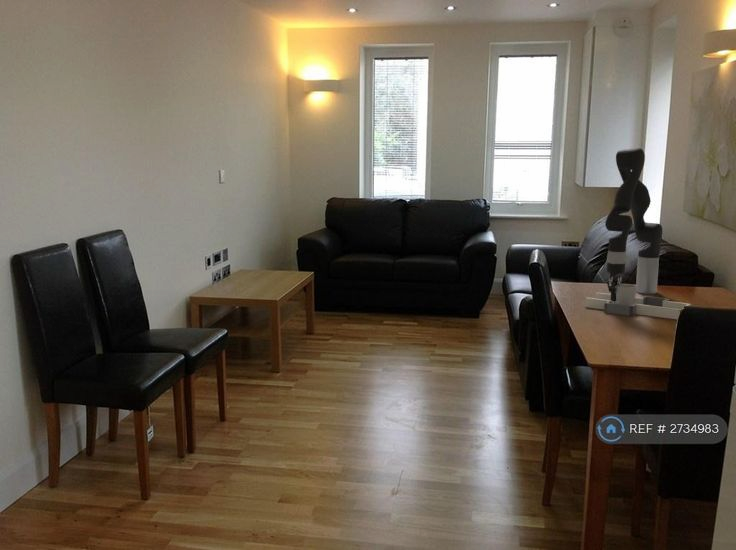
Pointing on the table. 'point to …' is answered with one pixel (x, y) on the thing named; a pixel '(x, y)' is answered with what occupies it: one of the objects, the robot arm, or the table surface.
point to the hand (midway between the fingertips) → (613, 301)
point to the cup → (625, 294)
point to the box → (637, 306)
